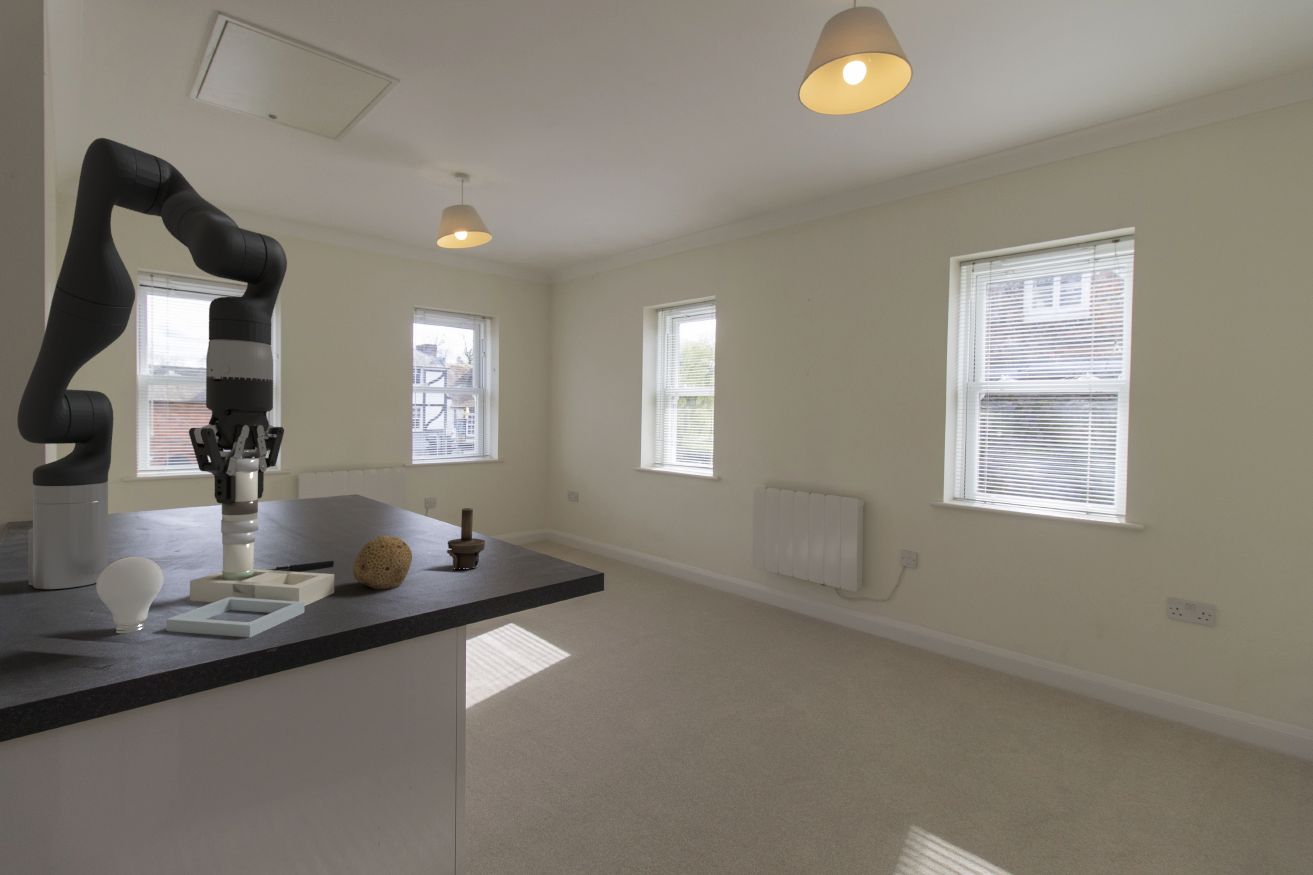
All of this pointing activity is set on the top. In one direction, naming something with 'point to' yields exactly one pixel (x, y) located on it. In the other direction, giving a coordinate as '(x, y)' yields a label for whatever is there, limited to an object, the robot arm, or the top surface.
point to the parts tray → (200, 624)
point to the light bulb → (130, 591)
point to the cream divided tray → (265, 586)
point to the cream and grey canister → (242, 499)
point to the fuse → (238, 556)
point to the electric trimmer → (306, 566)
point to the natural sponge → (383, 563)
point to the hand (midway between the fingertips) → (239, 500)
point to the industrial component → (466, 544)
